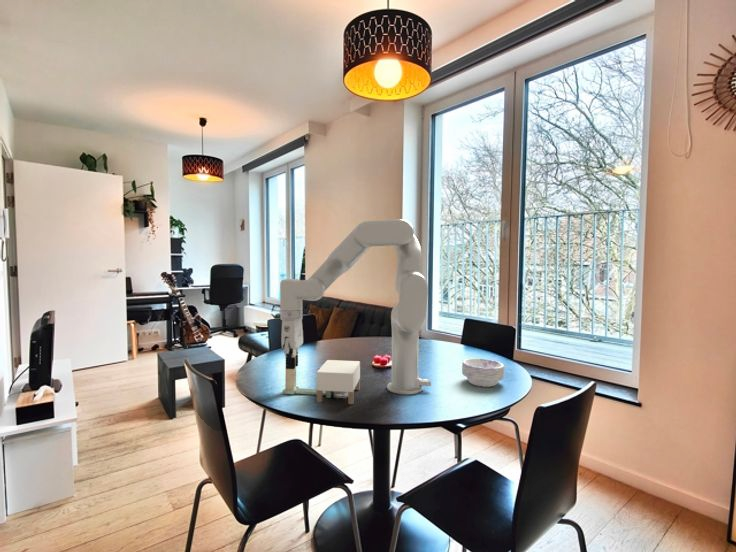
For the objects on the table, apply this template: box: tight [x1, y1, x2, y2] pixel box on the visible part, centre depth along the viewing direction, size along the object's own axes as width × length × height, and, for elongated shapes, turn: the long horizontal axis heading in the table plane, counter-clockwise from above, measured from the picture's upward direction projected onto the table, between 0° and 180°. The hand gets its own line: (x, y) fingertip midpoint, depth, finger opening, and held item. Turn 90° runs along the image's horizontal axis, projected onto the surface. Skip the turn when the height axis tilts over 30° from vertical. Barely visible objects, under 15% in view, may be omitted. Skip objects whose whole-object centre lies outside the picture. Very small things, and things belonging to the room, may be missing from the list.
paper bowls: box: [461, 357, 505, 388], centre depth 146 cm, size 15×15×8 cm
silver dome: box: [332, 391, 348, 399], centre depth 132 cm, size 6×6×2 cm
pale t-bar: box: [282, 349, 333, 399], centre depth 134 cm, size 17×7×15 cm, turn 83°
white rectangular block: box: [316, 359, 361, 405], centre depth 132 cm, size 12×15×10 cm
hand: (291, 367), depth 134 cm, fingers closed on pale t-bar, 2 cm apart
